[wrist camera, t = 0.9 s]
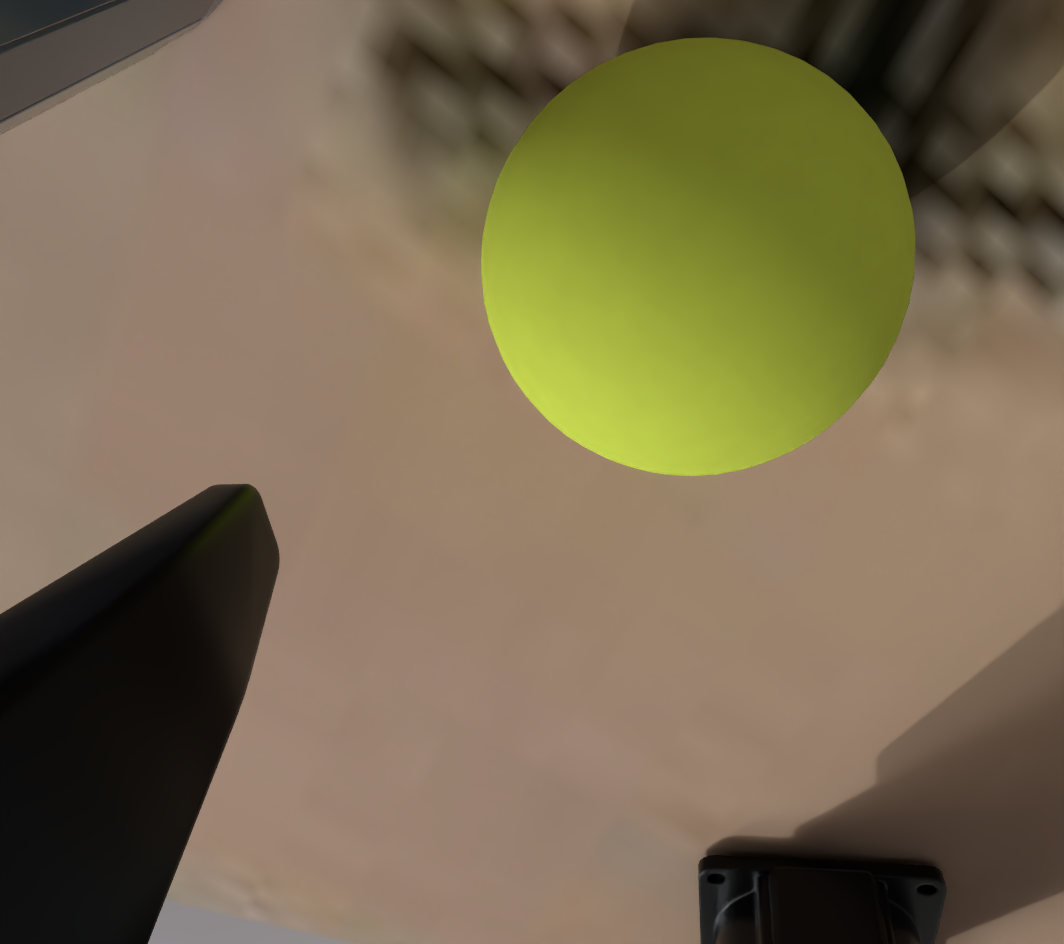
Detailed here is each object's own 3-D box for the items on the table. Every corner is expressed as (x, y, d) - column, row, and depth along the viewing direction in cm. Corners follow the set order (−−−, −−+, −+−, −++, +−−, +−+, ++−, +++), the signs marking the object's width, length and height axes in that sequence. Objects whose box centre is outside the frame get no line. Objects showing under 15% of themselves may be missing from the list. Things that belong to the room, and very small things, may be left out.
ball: (862, 343, 17) (929, 563, 13) (535, 357, 18) (481, 563, 14) (894, -25, 14) (1003, 84, 9) (490, 18, 15) (397, 135, 10)
